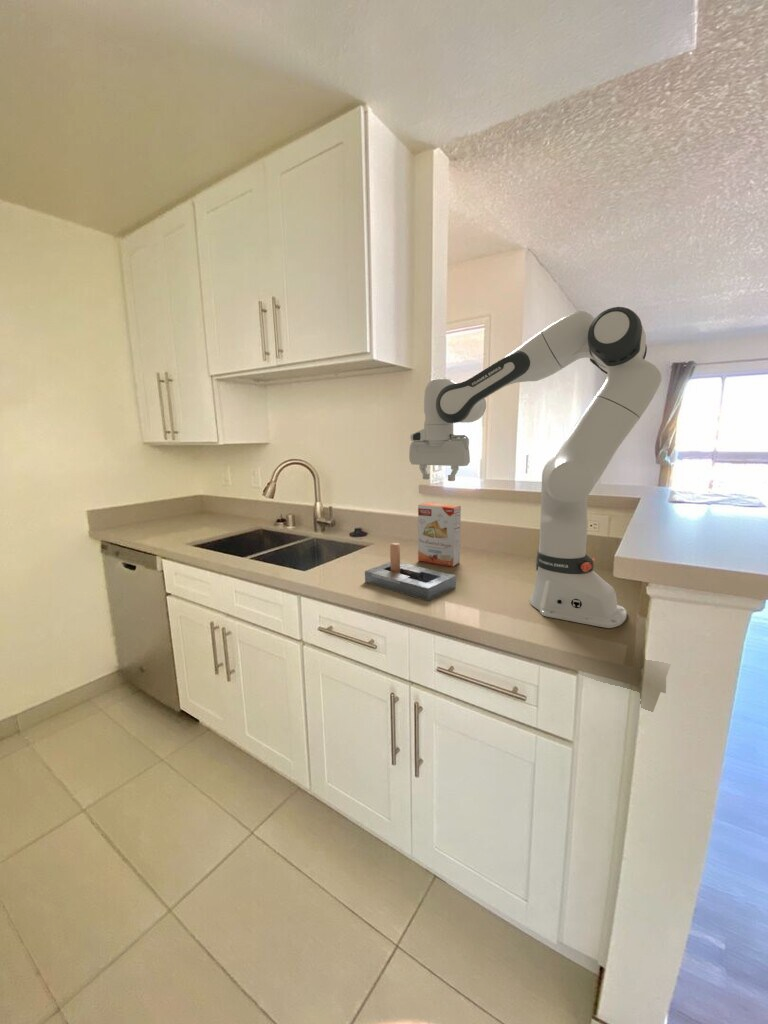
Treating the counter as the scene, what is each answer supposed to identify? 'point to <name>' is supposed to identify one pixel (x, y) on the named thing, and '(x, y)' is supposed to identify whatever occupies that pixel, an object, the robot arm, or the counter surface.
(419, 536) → the cracker box
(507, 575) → the counter surface
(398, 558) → the peg
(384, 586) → the keyhole board
